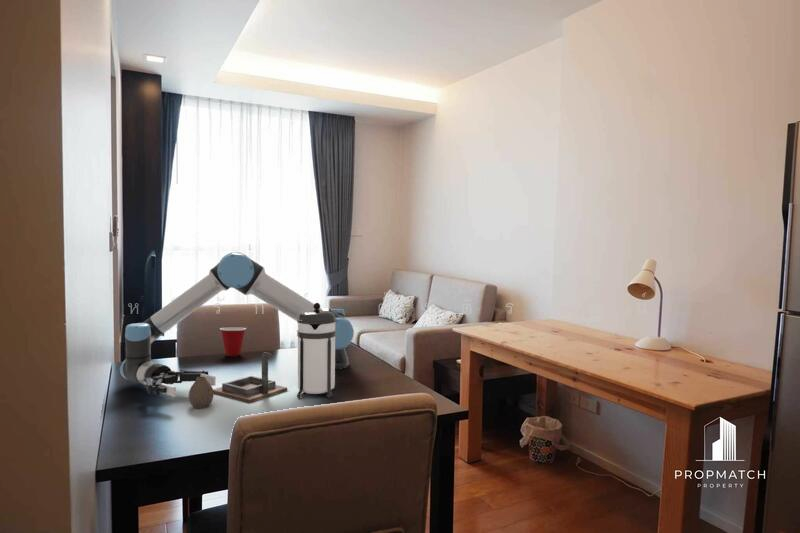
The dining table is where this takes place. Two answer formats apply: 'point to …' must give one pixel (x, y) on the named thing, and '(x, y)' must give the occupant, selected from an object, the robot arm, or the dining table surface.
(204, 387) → the vase
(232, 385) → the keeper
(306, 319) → the coffee press
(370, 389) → the dining table surface
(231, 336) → the plastic cup
